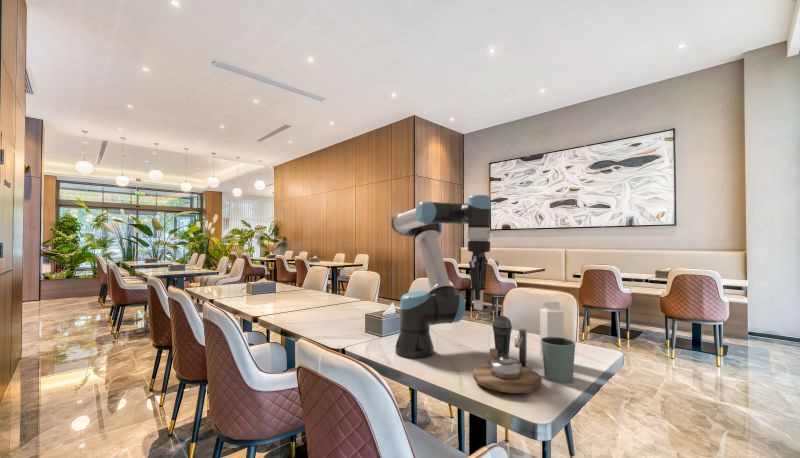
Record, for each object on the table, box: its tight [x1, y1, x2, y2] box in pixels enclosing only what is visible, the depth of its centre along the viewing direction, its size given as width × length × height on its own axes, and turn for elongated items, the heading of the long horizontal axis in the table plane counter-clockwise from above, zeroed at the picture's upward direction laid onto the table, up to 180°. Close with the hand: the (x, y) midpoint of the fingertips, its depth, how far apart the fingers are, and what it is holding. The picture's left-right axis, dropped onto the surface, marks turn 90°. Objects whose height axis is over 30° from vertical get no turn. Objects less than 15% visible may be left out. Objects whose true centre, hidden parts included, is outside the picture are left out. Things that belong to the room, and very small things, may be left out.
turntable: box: [473, 347, 542, 394], centre depth 109 cm, size 20×20×6 cm
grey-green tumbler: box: [541, 337, 576, 384], centre depth 114 cm, size 10×10×12 cm
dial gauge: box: [514, 328, 533, 370], centre depth 117 cm, size 5×12×14 cm, turn 149°
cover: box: [491, 355, 521, 380], centre depth 109 cm, size 9×9×5 cm
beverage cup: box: [491, 304, 513, 358], centre depth 135 cm, size 7×7×20 cm
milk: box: [539, 301, 565, 362], centre depth 130 cm, size 6×6×22 cm
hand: (478, 309), depth 121 cm, fingers closed
